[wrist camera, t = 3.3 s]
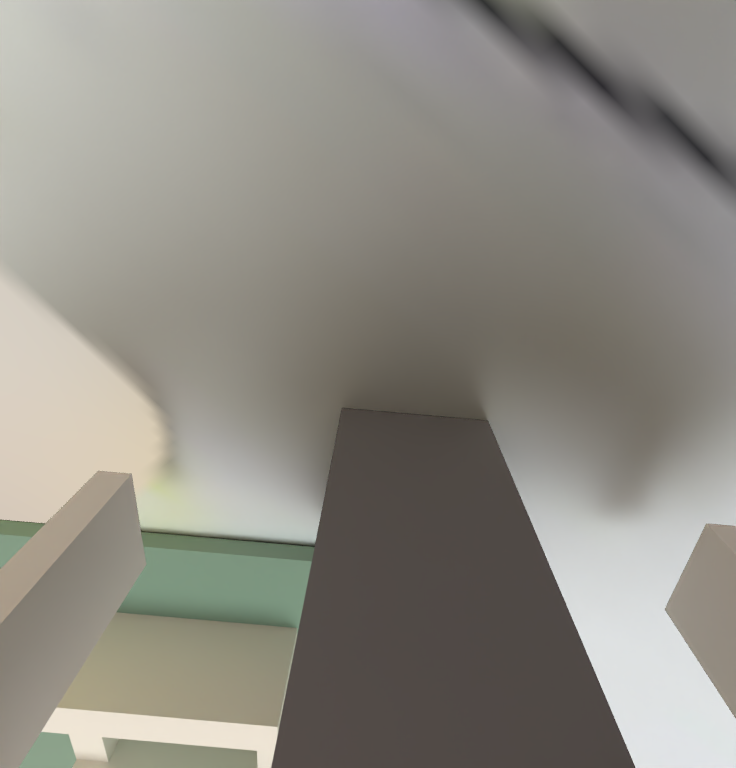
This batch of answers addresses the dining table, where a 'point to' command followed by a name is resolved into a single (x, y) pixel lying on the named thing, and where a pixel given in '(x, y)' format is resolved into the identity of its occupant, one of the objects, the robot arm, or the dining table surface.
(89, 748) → the board
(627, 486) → the dining table surface
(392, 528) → the plug
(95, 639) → the robot arm
